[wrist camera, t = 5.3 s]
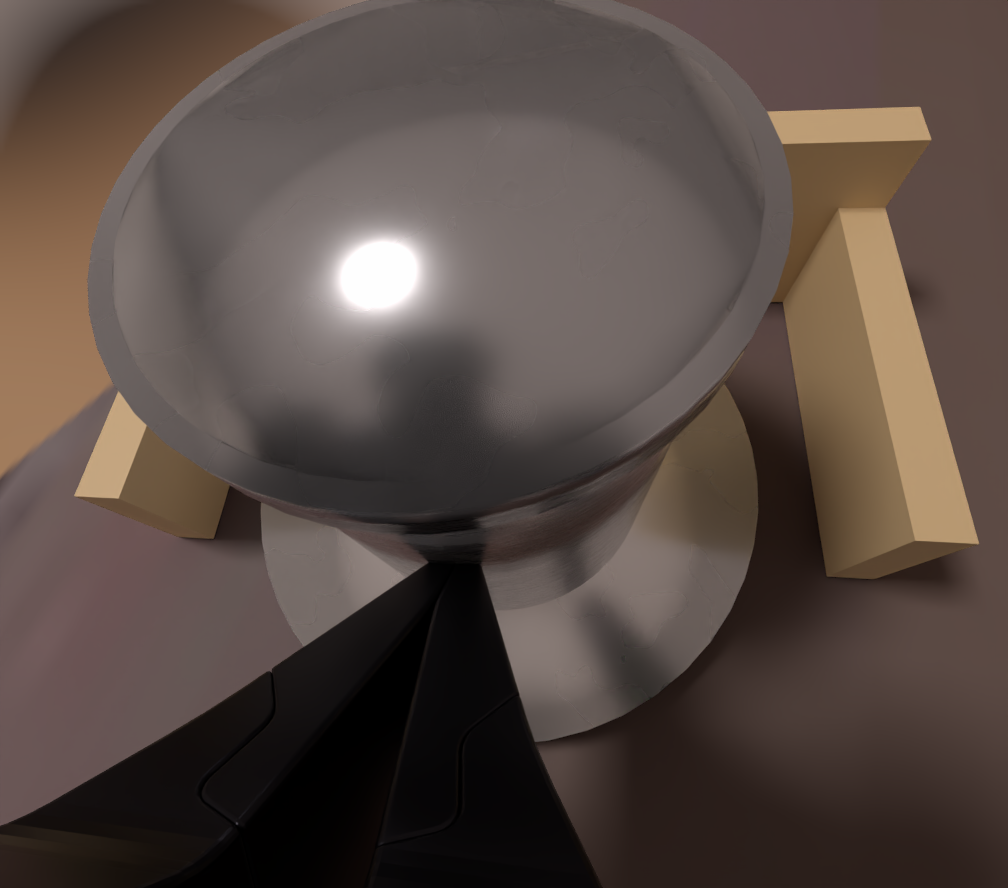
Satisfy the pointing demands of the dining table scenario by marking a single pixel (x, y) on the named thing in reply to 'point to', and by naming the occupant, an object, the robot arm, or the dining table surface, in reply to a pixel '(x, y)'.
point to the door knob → (466, 320)
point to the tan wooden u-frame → (815, 356)
